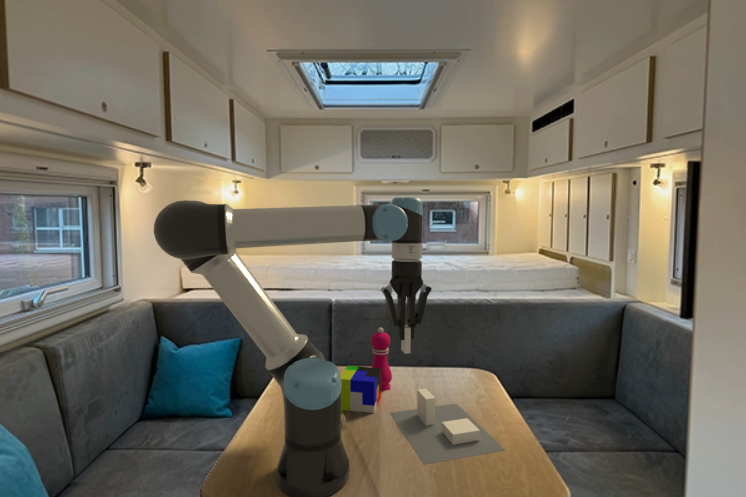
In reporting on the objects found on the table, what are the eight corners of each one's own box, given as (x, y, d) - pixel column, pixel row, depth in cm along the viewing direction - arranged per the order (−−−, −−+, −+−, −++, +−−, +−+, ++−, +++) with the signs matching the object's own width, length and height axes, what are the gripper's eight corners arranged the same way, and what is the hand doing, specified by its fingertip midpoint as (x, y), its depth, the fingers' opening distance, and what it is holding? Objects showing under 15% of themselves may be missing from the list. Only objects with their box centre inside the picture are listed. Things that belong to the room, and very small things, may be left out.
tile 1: (435, 424, 107) (435, 397, 106) (425, 425, 106) (426, 399, 106) (426, 413, 113) (426, 388, 112) (416, 414, 112) (417, 389, 111)
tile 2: (452, 445, 97) (479, 440, 99) (453, 434, 97) (479, 430, 99) (441, 432, 103) (467, 428, 105) (441, 422, 103) (467, 418, 105)
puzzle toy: (374, 417, 113) (374, 381, 112) (338, 413, 115) (338, 378, 114) (380, 401, 123) (381, 368, 122) (348, 398, 125) (348, 365, 124)
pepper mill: (378, 383, 135) (378, 323, 133) (396, 389, 131) (397, 327, 129) (363, 390, 130) (364, 327, 128) (382, 397, 125) (382, 332, 123)
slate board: (505, 454, 96) (505, 450, 96) (424, 469, 90) (424, 464, 90) (456, 407, 119) (456, 403, 119) (389, 416, 113) (389, 412, 113)
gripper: (386, 262, 99) (385, 359, 101) (437, 260, 102) (435, 354, 104) (377, 258, 106) (377, 349, 108) (425, 257, 109) (423, 345, 111)
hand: (405, 351), depth 106 cm, fingers closed
